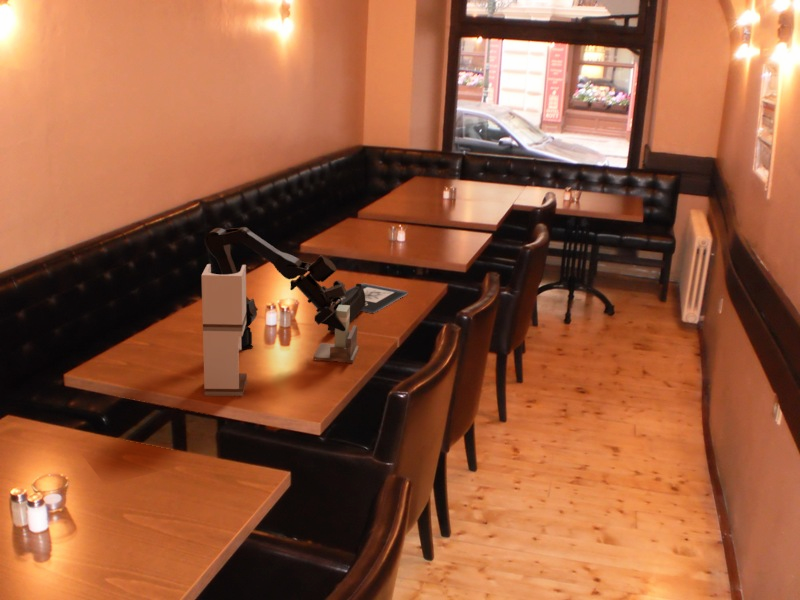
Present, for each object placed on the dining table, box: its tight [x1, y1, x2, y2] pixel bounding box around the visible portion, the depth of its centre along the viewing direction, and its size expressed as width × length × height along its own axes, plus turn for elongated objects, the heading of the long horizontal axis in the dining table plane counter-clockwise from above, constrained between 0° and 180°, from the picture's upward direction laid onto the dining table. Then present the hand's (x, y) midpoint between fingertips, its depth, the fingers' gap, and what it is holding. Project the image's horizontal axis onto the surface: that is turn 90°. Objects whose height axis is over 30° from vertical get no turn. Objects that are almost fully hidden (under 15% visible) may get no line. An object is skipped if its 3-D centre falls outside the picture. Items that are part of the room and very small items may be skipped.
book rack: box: [313, 324, 360, 364], centre depth 272 cm, size 12×13×8 cm
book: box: [334, 305, 350, 348], centre depth 271 cm, size 4×6×13 cm, turn 175°
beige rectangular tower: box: [201, 263, 248, 397], centre depth 239 cm, size 11×11×35 cm
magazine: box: [327, 283, 366, 333], centre depth 303 cm, size 17×3×30 cm
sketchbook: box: [337, 282, 409, 314], centre depth 332 cm, size 22×30×2 cm
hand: (346, 327), depth 270 cm, fingers closed on book, 6 cm apart
